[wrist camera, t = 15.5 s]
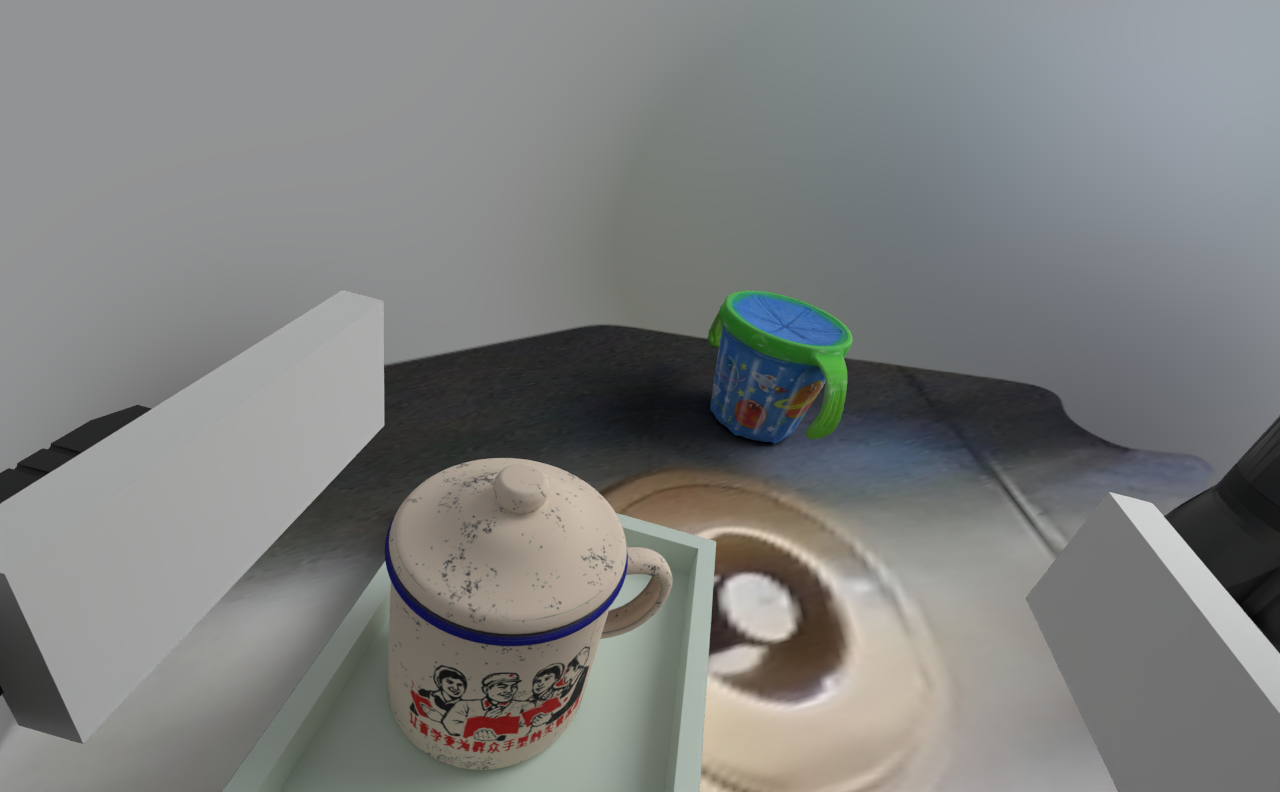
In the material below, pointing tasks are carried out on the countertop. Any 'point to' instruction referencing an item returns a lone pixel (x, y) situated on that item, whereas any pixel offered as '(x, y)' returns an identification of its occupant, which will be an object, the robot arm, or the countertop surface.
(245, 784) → the sage tray
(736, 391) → the snack cup
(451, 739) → the teacup with lid
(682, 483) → the countertop surface
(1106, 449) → the countertop surface
